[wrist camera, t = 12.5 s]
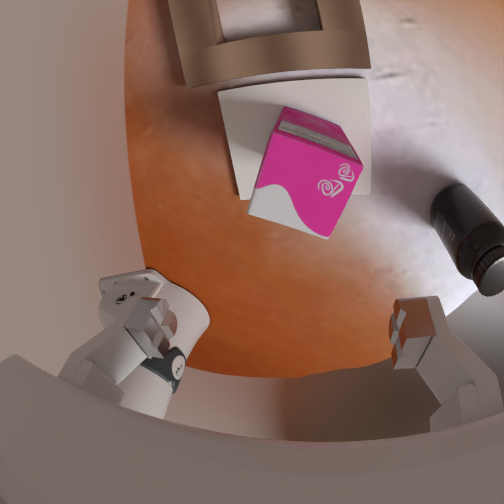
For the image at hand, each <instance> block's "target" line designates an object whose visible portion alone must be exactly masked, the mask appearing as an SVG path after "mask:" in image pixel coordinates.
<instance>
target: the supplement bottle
mask: <svg viewBox="0 0 504 504" xmlns="http://www.w3.org/2000/svg"><path fill="white" fill-rule="evenodd" d="M431 221H432V224H433V227H434V228H435V230H436V232H437V234H438V235H439V237H440V239H441V240H442V242H443V244H444V246H445V247H446V249H447V251H448V253H449V255H450V257H451V258H452V260H453V262H454V264H455V266H456V268H457V270H458V271H459V273H460V274H461V275H462V276H464V277H465V278H467V279H470V280H473V282H474V283H475V284H476V286H477V288H478V290H479V292H480V293H481V294H482V295H484V296H487V297H488V296H493V295H496V294H498V293H500V292H502V291H503V290H504V226H503V224H502V223H501V222H500V221H499V220H498V218H497V217H496V216H495V215H494V214H493V213H492V212H491V211H490V209H489V208H488V207H487V206H486V205H485V204H484V203H483V202H482V201H481V200H480V199H479V198H478V197H477V196H476V195H475V194H474V193H473V192H472V191H471V190H470V189H469V188H467V187H466V186H463V185H451V186H448V187H446V188H445V189H443V190H442V191H441V192H440V193H439V194H438V195H437V197H436V198H435V200H434V202H433V204H432V208H431Z"/></svg>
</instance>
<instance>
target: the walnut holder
mask: <svg viewBox="0 0 504 504" xmlns="http://www.w3.org/2000/svg"><path fill="white" fill-rule="evenodd" d="M168 4H169V9H170V14H171V19H172V24H173V28H174V33H175V38H176V42H177V47H178V51H179V56H180V60H181V65H182V69H183V74H184V78H185V82H186V87H187V89H190V88H194V87H199V86H203V85H207V84H211V83H216V82H221V81H226V80H231V79H236V78H242V77H248V76H254V75H261V74H268V73H276V72H285V71H296V70H309V69H332V68H361V69H371V64H370V57H369V50H368V43H367V37H366V31H365V25H364V20H363V15H362V10H361V6H360V1H359V0H315V4H316V8H317V13H318V18H319V23H320V28H321V31H304V32H292V33H282V34H274V35H267V36H260V37H254V38H248V39H243V40H237V41H233V42H228V43H225V41H224V36H223V31H222V27H221V22H220V17H219V13H218V8H217V3H216V0H168Z"/></svg>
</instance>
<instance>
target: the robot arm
mask: <svg viewBox="0 0 504 504" xmlns="http://www.w3.org/2000/svg"><path fill="white" fill-rule="evenodd" d="M99 288H100V291H101V294H102V296H103V299H102V301H101V303H100V305H99V308H98V313H99V314H98V315H99V318H100V320H101V322H102V325H103V327H104V330H103V331H102V332H100V333H99V334H97V335H96V336H94V337H93V338H92V339H90V340H89V341H88V342H86V343H85V344H83V345H82V346H81V347H79V348H78V349H76V350H75V351H74V352H72V353H71V354H70V356H69V357H68V359H67V361H66V363H65V365H64V366H63V368H62V370H61V371H60V373H59V375H58V377H55V376H53V375H52V374H49V373H48V372H46V371H44V370H42V369H40V368H39V367H37V366H35V365H34V364H32V363H30V362H28V361H27V360H25V359H24V358H22V357H21V356H18V355H12V356H10V357H8V358H6V359H5V360H3V361H2V362H1V363H0V504H504V409H503V403H502V398H501V393H500V389H499V384H498V380H497V376H496V375H495V374H494V373H493V372H492V371H491V370H490V368H489V367H488V366H487V365H486V364H485V363H484V362H483V361H482V360H481V359H480V358H479V357H478V356H477V355H476V354H475V353H474V352H473V351H472V350H471V349H470V348H469V347H468V346H467V345H465V343H463V342H462V341H461V340H460V339H459V338H458V337H457V336H456V335H455V334H451V333H450V330H449V327H448V323H447V320H446V317H445V314H444V311H443V308H442V305H441V302H440V299H439V297H438V296H427V297H413V298H400V299H396V300H395V302H394V306H393V307H394V313H393V314H392V315H391V317H390V322H389V339H390V342H391V343H392V344H393V346H394V347H393V350H392V352H391V354H392V362H393V369H405V368H416V370H417V371H418V372H419V374H420V375H421V377H422V378H423V379H424V381H425V382H426V383H427V385H428V386H429V388H430V389H431V391H432V392H433V393H434V395H435V396H436V398H437V399H438V401H439V402H440V403H441V405H442V406H441V407H440V408H439V409H438V410H437V411H436V412H435V413H434V414H433V415H432V416H431V417H430V429H431V432H429V433H424V434H418V435H413V436H406V437H399V438H391V439H381V440H370V441H354V442H299V441H283V440H270V439H260V438H253V437H245V436H238V435H232V434H226V433H220V432H215V431H209V430H205V429H200V428H196V427H191V426H187V425H183V424H179V423H175V422H171V421H168V420H164V416H165V412H166V409H167V406H168V403H169V400H170V398H171V395H172V394H173V393H175V392H176V390H177V387H178V385H179V383H180V380H181V377H182V375H183V372H184V369H185V365H186V360H187V358H188V356H189V354H190V352H191V350H192V349H193V347H194V345H195V344H196V342H197V341H198V339H199V338H200V336H201V335H202V334H203V332H204V331H205V330H206V329H207V328H208V326H209V323H210V319H209V315H208V312H207V310H206V309H205V307H204V306H203V305H202V303H201V302H200V301H199V300H198V299H197V298H196V297H194V296H193V295H192V294H191V293H189V292H188V291H186V290H185V289H183V288H181V287H179V286H177V285H175V284H173V283H171V282H169V281H168V280H167V279H165V278H164V277H163V276H162V275H161V274H160V273H158V272H157V271H155V270H153V269H146V270H141V271H136V272H131V273H126V274H121V275H115V276H110V277H105V278H101V279H100V281H99Z"/></svg>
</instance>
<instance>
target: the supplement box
mask: <svg viewBox="0 0 504 504" xmlns="http://www.w3.org/2000/svg"><path fill="white" fill-rule="evenodd" d="M363 168H364V165H363V164H362V162H361V160H360V158H359V157H358V155H357V153H356V151H355V150H354V148H353V146H352V145H351V143H350V141H349V140H348V138H347V136H346V135H345V133H344V131H343V130H342V128H341V127H340V126H339V125H337V124H334V123H332V122H329V121H327V120H324V119H322V118H319V117H316V116H314V115H311V114H308V113H305V112H303V111H300V110H297V109H294V108H290V107H287V106H284V107H283V109H282V112H281V114H280V116H279V118H278V120H277V122H276V124H275V126H274V128H273V130H272V132H271V134H270V137H269V140H268V143H267V146H266V149H265V152H264V155H263V158H262V162H261V165H260V168H259V171H258V175H257V178H256V182H255V185H254V189H253V192H252V196H251V199H250V202H249V206H248V210H247V213H248V214H249V215H253V216H256V217H260V218H263V219H266V220H270V221H273V222H276V223H279V224H283V225H286V226H289V227H292V228H294V229H297V230H300V231H303V232H306V233H309V234H312V235H315V236H318V237H321V238H323V239H328V238H329V237H330V235H331V233H332V231H333V229H334V227H335V225H336V223H337V221H338V219H339V217H340V215H341V213H342V211H343V209H344V207H345V205H346V203H347V201H348V199H349V197H350V195H351V193H352V191H353V189H354V187H355V185H356V183H357V180H358V178H359V176H360V174H361V172H362V170H363Z"/></svg>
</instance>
